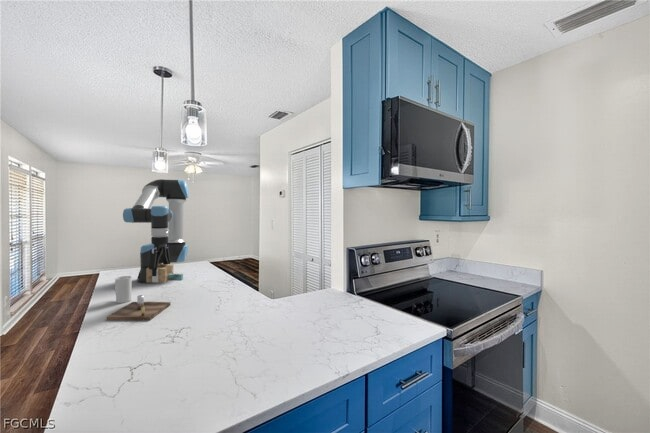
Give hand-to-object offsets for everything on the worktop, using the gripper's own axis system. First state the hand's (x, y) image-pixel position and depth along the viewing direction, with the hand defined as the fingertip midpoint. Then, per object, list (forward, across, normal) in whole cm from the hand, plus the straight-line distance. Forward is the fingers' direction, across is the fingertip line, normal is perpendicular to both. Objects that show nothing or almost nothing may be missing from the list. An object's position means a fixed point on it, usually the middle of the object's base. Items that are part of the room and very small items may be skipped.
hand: (160, 279), depth 148 cm
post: (+9, -18, 0) cm, 20 cm away
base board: (+10, -18, 0) cm, 20 cm away
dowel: (+8, -25, -5) cm, 27 cm away
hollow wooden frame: (0, 0, -3) cm, 3 cm away
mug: (+11, -3, +18) cm, 21 cm away
